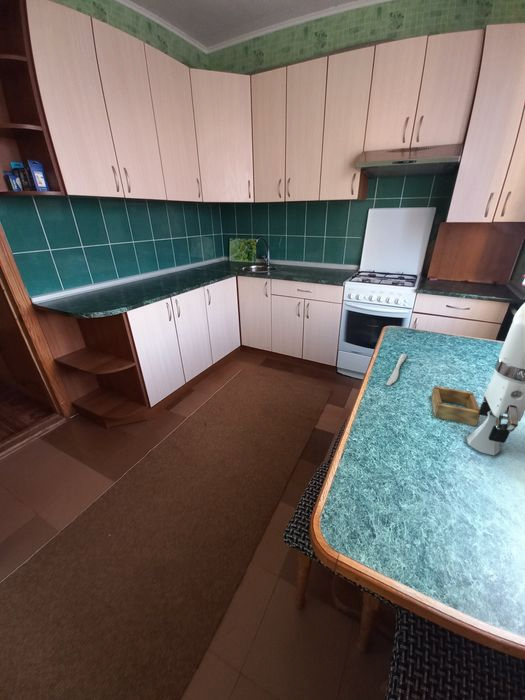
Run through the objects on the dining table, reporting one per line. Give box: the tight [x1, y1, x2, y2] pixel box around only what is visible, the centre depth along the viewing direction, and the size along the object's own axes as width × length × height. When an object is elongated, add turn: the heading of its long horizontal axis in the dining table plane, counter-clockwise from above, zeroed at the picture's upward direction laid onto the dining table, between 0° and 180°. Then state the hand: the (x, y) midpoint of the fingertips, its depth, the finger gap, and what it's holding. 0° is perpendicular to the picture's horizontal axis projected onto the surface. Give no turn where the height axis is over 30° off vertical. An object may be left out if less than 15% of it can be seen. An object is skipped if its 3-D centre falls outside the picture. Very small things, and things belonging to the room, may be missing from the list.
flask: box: [466, 410, 504, 456], centre depth 73 cm, size 7×7×10 cm
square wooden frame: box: [430, 385, 481, 426], centre depth 87 cm, size 10×10×4 cm
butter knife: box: [385, 353, 408, 386], centre depth 109 cm, size 1×27×3 cm
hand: (490, 427), depth 73 cm, fingers open, 9 cm apart
